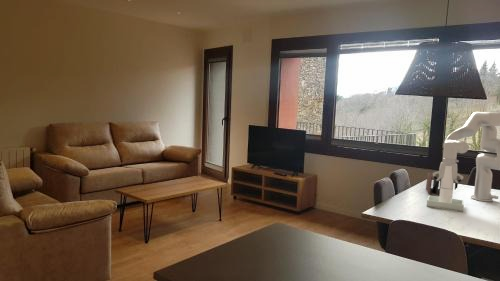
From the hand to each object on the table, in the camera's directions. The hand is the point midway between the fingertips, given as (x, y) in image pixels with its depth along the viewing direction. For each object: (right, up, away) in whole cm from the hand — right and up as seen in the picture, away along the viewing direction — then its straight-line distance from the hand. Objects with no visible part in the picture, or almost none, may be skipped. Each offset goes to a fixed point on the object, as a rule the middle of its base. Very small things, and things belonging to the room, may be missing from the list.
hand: (446, 188), depth 235 cm
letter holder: (+11, -8, +37) cm, 39 cm away
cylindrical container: (0, -11, +1) cm, 11 cm away
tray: (0, -12, +1) cm, 12 cm away
